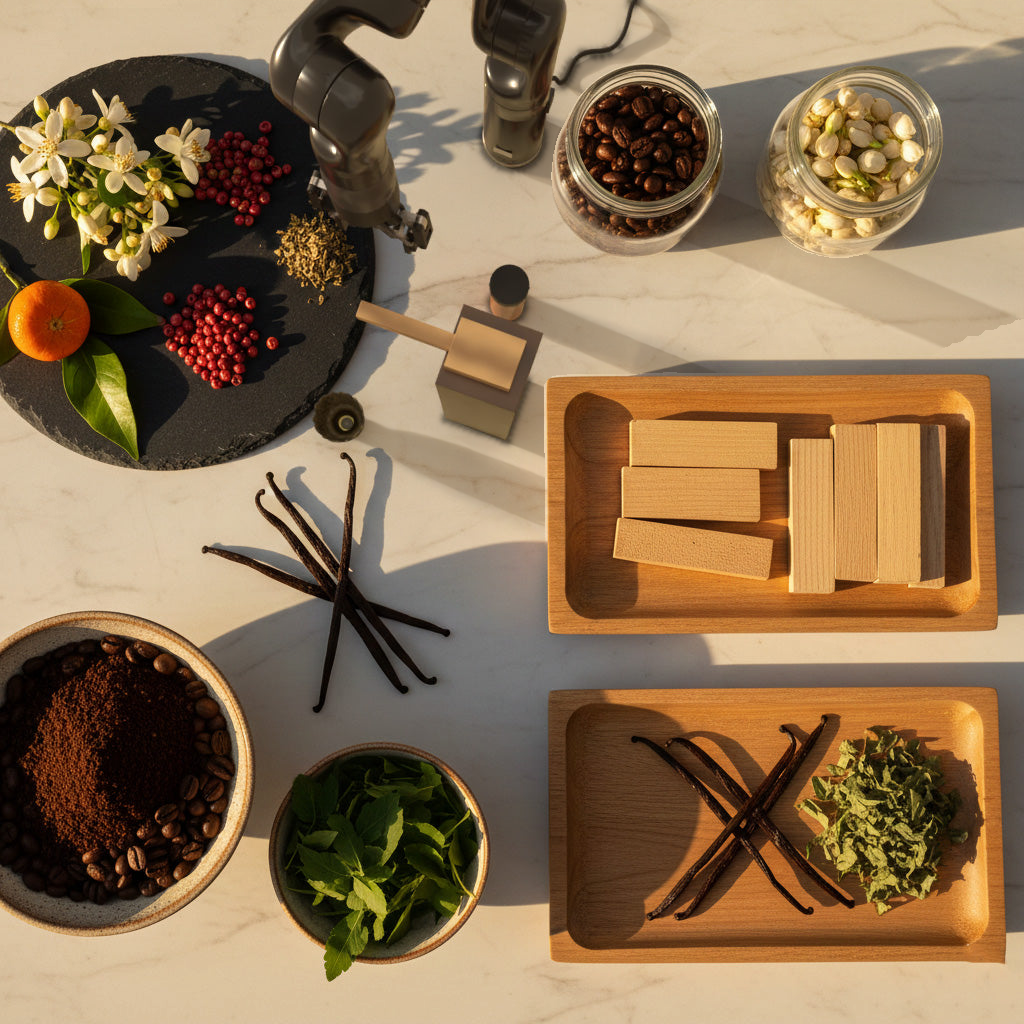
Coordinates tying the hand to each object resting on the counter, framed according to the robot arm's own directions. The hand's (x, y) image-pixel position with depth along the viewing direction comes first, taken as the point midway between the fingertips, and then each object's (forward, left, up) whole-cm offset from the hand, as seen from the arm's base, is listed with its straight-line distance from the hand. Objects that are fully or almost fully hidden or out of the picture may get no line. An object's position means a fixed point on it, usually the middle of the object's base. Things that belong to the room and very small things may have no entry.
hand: (378, 234), depth 100 cm
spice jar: (-4, +17, -25) cm, 30 cm away
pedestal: (+11, +19, -25) cm, 33 cm away
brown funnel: (+22, 0, -25) cm, 33 cm away
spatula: (+11, +12, +7) cm, 18 cm away
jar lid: (-4, +17, -14) cm, 22 cm away
